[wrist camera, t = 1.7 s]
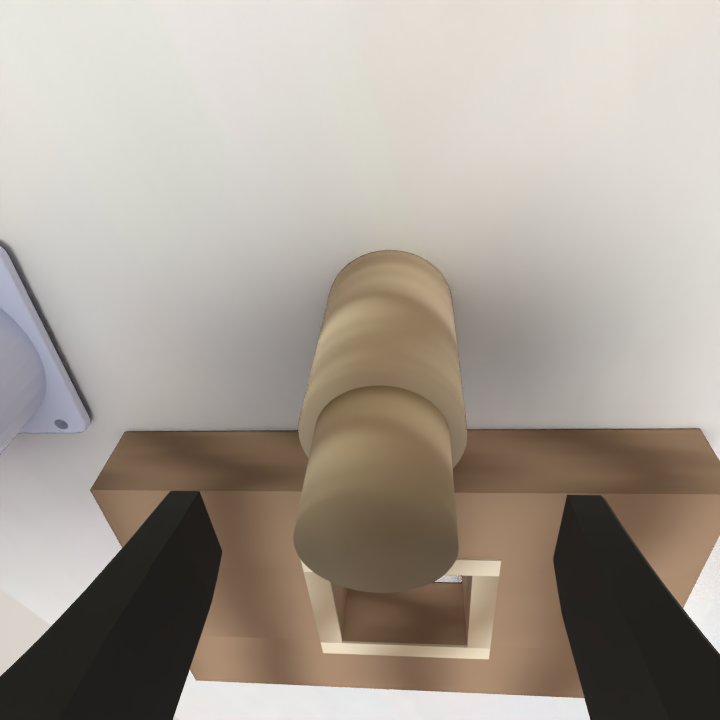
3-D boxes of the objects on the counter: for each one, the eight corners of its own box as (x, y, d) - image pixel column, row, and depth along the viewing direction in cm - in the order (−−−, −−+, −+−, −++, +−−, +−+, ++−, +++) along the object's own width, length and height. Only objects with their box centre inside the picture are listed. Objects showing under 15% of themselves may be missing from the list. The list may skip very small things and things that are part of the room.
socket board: (212, 624, 31) (195, 682, 29) (124, 432, 22) (89, 492, 20) (617, 637, 29) (637, 702, 26) (700, 428, 20) (741, 497, 17)
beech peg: (335, 357, 19) (289, 600, 12) (321, 253, 17) (255, 476, 10) (450, 355, 19) (475, 605, 12) (453, 247, 16) (485, 477, 9)
